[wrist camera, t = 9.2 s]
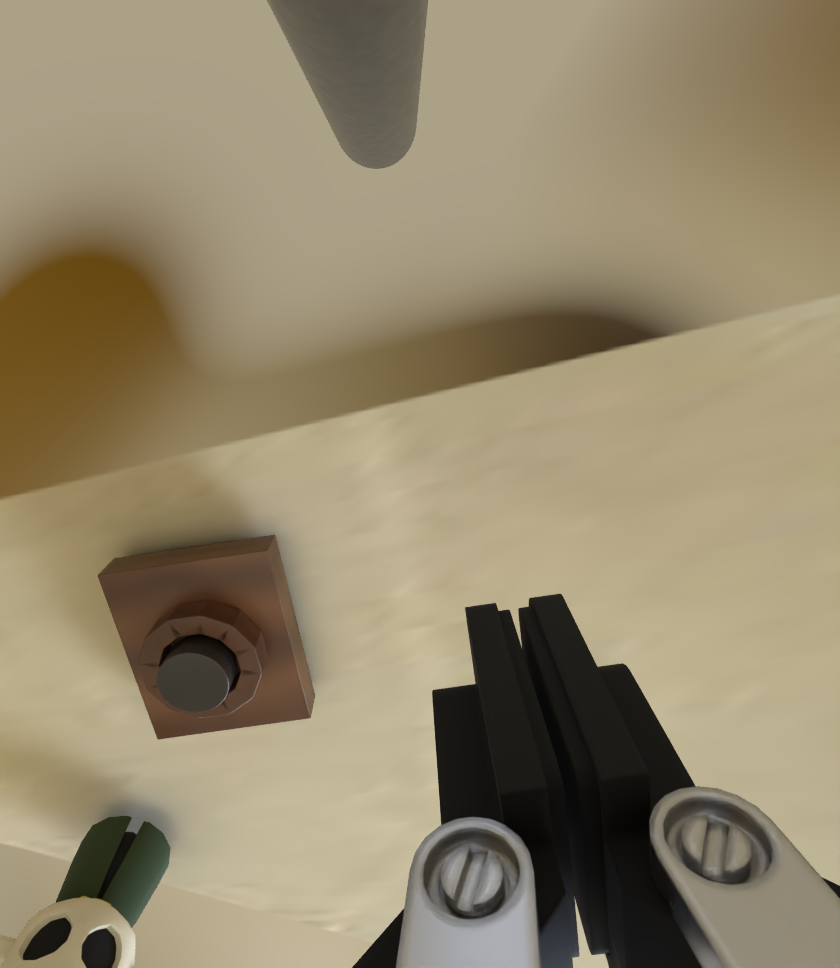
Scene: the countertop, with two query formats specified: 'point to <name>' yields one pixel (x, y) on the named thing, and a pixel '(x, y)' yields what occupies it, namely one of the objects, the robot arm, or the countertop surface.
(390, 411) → the countertop surface
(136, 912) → the character mug
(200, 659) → the button
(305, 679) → the button box
